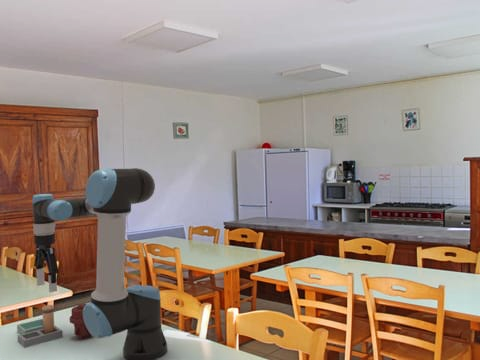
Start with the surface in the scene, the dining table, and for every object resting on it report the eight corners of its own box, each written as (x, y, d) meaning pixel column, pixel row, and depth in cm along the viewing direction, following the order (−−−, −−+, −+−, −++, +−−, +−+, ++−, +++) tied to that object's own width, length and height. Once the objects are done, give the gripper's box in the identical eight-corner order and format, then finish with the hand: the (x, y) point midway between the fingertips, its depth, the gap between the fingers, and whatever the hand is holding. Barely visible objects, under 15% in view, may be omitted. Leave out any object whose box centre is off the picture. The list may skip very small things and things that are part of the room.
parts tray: (51, 331, 182) (51, 324, 182) (25, 338, 175) (24, 330, 175) (42, 325, 189) (42, 318, 189) (17, 332, 182) (17, 324, 182)
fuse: (56, 336, 176) (55, 306, 175) (45, 339, 173) (44, 308, 172) (52, 334, 179) (51, 304, 178) (41, 337, 176) (40, 306, 176)
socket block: (62, 336, 175) (62, 330, 175) (24, 347, 166) (24, 340, 166) (55, 331, 181) (55, 325, 181) (17, 341, 172) (17, 335, 172)
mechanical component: (102, 332, 179) (89, 342, 169) (79, 331, 181) (65, 341, 171) (101, 301, 178) (87, 309, 169) (78, 301, 180) (63, 308, 171)
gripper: (66, 235, 168) (68, 292, 169) (43, 230, 186) (45, 280, 187) (45, 238, 163) (48, 296, 164) (24, 232, 181) (26, 284, 182)
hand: (46, 288), depth 175 cm, fingers open, 13 cm apart
